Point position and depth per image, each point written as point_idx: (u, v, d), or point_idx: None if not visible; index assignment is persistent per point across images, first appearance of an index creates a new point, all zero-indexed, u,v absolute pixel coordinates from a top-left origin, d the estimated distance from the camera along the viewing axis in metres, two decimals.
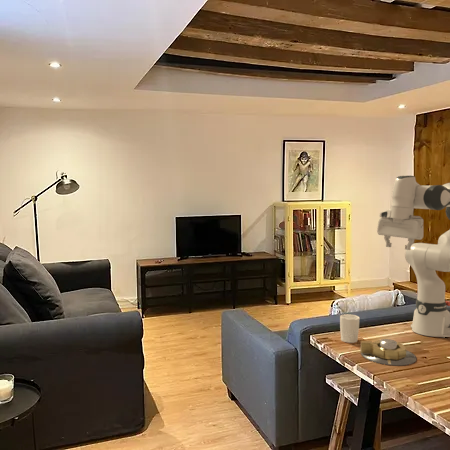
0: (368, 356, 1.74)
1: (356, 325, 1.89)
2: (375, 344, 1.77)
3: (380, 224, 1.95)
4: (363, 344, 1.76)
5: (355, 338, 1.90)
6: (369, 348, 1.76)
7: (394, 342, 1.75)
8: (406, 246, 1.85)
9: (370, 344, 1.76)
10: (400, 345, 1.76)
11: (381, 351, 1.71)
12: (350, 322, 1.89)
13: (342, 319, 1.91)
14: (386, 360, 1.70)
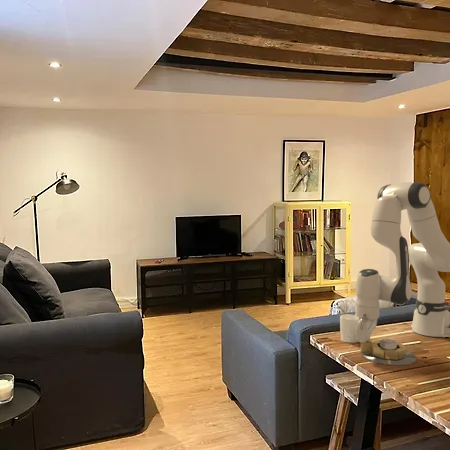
0: (368, 356, 1.74)
1: (356, 325, 1.89)
2: (375, 344, 1.77)
3: None
4: (363, 344, 1.76)
5: (355, 338, 1.90)
6: (369, 348, 1.76)
7: (394, 342, 1.75)
8: None
9: (370, 344, 1.75)
10: (400, 345, 1.76)
11: (381, 351, 1.71)
12: (350, 322, 1.89)
13: (342, 319, 1.91)
14: (386, 360, 1.70)
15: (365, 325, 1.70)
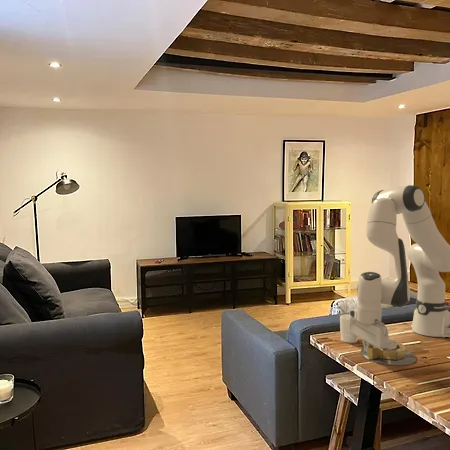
0: None
1: None
2: None
3: (351, 322, 1.80)
4: (373, 350, 1.70)
5: (355, 338, 1.90)
6: (377, 353, 1.71)
7: (394, 342, 1.75)
8: (365, 348, 1.74)
9: (378, 348, 1.71)
10: None
11: (393, 353, 1.70)
12: None
13: (342, 319, 1.91)
14: (386, 360, 1.70)
15: (387, 330, 1.65)
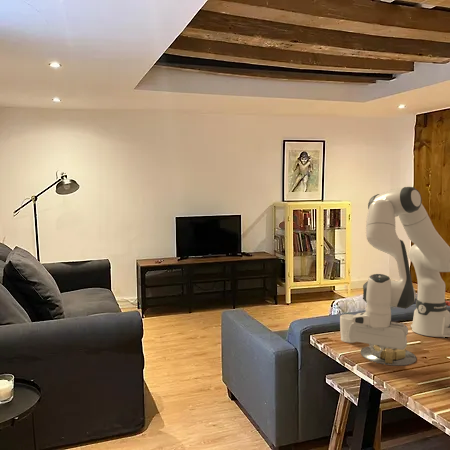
0: (368, 356, 1.74)
1: None
2: None
3: (353, 329, 1.71)
4: (392, 353, 1.66)
5: None
6: None
7: None
8: (378, 353, 1.68)
9: None
10: None
11: (403, 351, 1.71)
12: (350, 322, 1.89)
13: (342, 319, 1.91)
14: None
15: None
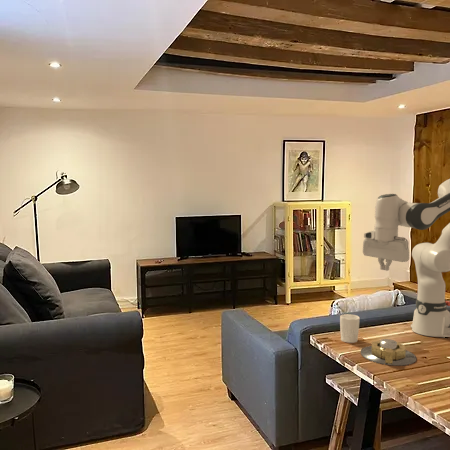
0: (368, 356, 1.74)
1: (356, 325, 1.89)
2: None
3: (365, 245, 1.88)
4: (392, 353, 1.66)
5: (355, 338, 1.90)
6: None
7: (394, 342, 1.75)
8: (384, 267, 1.82)
9: None
10: None
11: (403, 351, 1.71)
12: (350, 322, 1.89)
13: (342, 319, 1.91)
14: None
15: None
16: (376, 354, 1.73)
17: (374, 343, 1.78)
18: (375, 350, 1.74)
